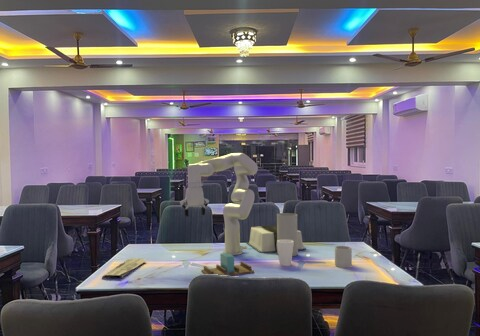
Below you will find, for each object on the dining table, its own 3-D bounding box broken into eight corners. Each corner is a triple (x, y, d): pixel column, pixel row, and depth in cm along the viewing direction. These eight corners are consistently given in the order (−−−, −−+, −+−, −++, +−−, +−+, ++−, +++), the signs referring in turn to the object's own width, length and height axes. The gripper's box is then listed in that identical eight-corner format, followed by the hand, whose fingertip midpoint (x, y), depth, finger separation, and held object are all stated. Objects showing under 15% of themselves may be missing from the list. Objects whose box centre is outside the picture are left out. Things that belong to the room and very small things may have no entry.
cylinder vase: (274, 256, 228) (274, 215, 228) (280, 251, 240) (280, 212, 239) (294, 257, 223) (294, 216, 223) (299, 253, 235) (299, 213, 235)
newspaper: (127, 262, 219) (127, 256, 219) (147, 262, 218) (147, 256, 218) (100, 280, 184) (100, 273, 184) (125, 280, 183) (125, 273, 183)
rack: (242, 266, 206) (242, 260, 206) (254, 272, 193) (254, 266, 193) (201, 271, 196) (201, 265, 196) (210, 278, 183) (210, 272, 183)
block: (227, 267, 199) (227, 252, 199) (234, 271, 191) (234, 256, 191) (220, 268, 198) (220, 253, 198) (227, 272, 190) (227, 257, 190)
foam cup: (295, 262, 212) (295, 240, 212) (292, 267, 203) (291, 243, 203) (279, 261, 215) (278, 239, 215) (275, 265, 206) (274, 242, 206)
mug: (342, 268, 199) (342, 249, 199) (330, 264, 207) (330, 246, 207) (357, 265, 204) (357, 247, 204) (345, 262, 212) (345, 244, 212)
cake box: (245, 243, 269) (245, 226, 269) (288, 240, 278) (288, 223, 278) (260, 254, 235) (260, 234, 235) (308, 250, 244) (308, 231, 244)
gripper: (206, 184, 220) (206, 213, 220) (177, 185, 212) (178, 215, 212) (211, 185, 213) (211, 215, 213) (181, 186, 206) (182, 217, 206)
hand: (195, 215), depth 213 cm, fingers open, 9 cm apart
